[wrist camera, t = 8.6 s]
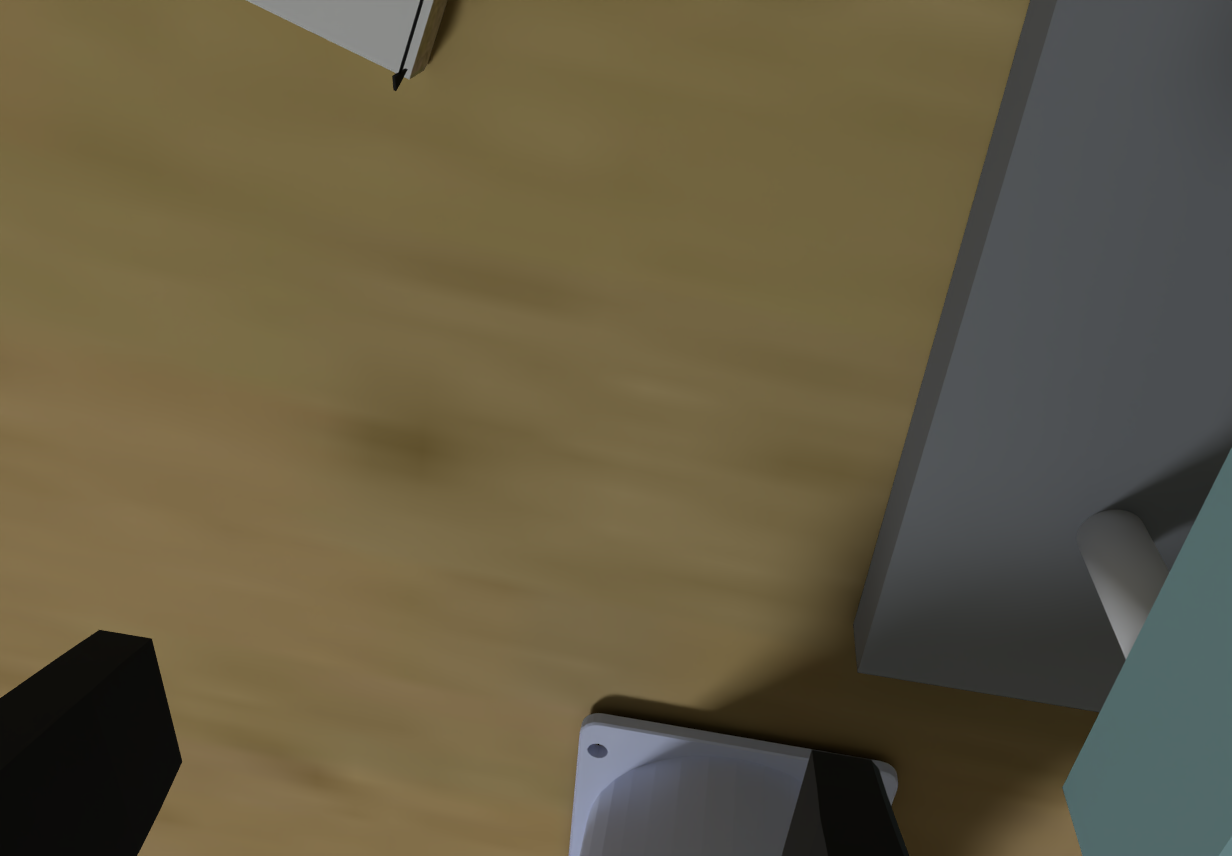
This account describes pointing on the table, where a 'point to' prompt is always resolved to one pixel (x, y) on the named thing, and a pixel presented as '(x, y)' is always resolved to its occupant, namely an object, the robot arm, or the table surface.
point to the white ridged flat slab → (371, 28)
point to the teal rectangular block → (1169, 714)
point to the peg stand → (1069, 365)
